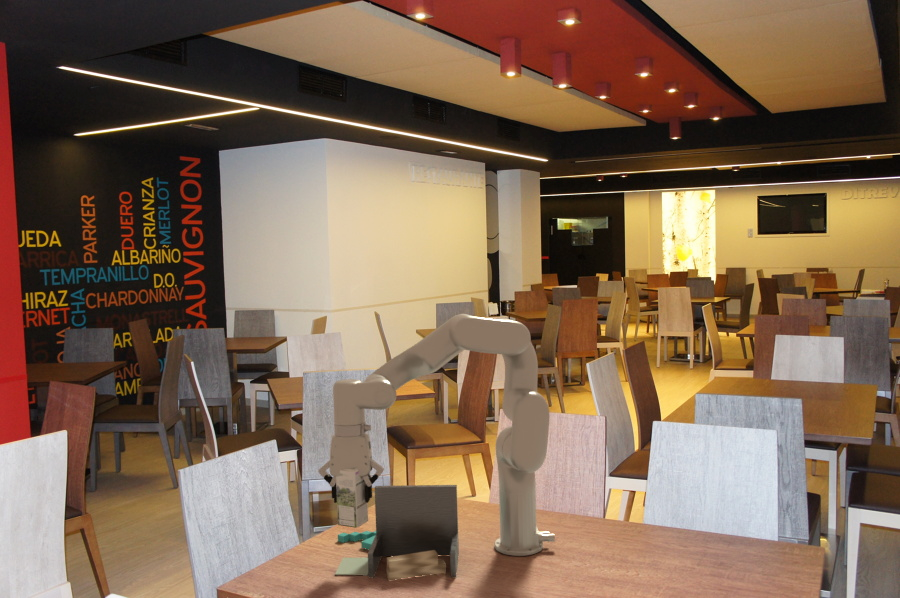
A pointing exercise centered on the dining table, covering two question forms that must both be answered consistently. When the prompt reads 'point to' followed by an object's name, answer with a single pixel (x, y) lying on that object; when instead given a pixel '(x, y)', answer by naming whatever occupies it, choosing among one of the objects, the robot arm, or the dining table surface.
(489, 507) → the dining table surface
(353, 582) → the dining table surface
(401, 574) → the offcut stack
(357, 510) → the syrup box
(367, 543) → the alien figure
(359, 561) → the mat
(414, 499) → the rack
